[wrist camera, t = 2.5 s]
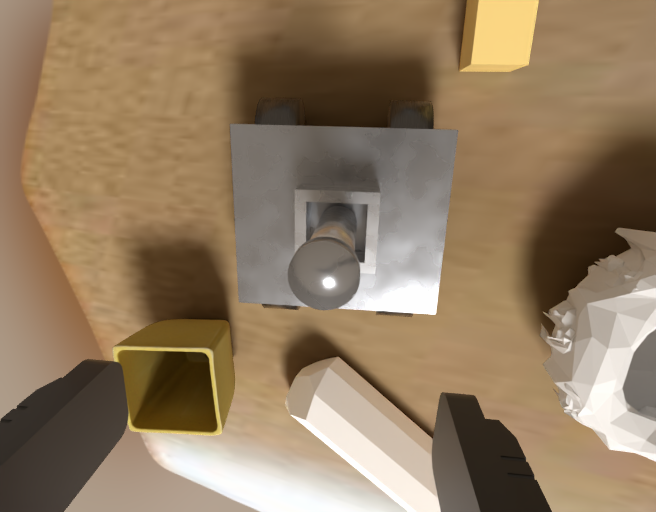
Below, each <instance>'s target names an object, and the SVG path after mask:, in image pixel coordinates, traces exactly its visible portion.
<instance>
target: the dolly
mask: <svg viewBox="0 0 656 512" xmlns="http://www.w3.org/2000/svg"><path fill="white" fill-rule="evenodd" d="M230 136H231V155H232V175H233V195H234V215H235V234H236V254H237V274H238V294H239V302H243V303H259V304H262V305H263V307H264V308H277V309H293V310H299V308H300V306H307V305H305V304H304V303H302V302H301V301H300V300H299V299H298V298H297V297H296V296H295V295H294V293H293V292H292V290H291V288H290V285H289V282H288V268H289V264H290V262H291V260H292V258H293V256H294V254H295V252H296V251H297V250H298V248H299V247H300V246H301V245H302V244H304V243H305V242H307V241H308V240H310V239H311V237H312V235H313V233H314V231H315V229H316V227H317V225H318V222H319V220H320V218H321V216H322V214H323V213H324V212H325V211H326V210H327V209H329V208H331V207H333V206H343V207H346V208H348V209H349V210H350V211H352V213H353V214H354V215H355V217H356V221H357V229H356V240H355V251H354V252H355V253H356V255H357V257H358V260H359V263H360V284H359V287H358V290H357V292H356V294H355V295H354V297H353V298H352V299H351V300H350V301H349V302H348V303H346V304H345V305H343V306H341V307H339V308H340V309H356V310H373V311H376V315H389V316H405V317H412V315H413V313H421V314H436V308H437V300H438V291H439V283H440V275H441V267H442V259H443V251H444V242H445V234H446V226H447V218H448V210H449V201H450V193H451V185H452V177H453V169H454V161H455V152H456V144H457V136H458V130H451V129H433V105H432V102H431V101H392V100H391V101H390V105H389V112H388V121H387V128H379V127H341V126H306V120H305V110H304V104H303V101H302V99H299V98H261V99H260V101H259V103H258V106H257V110H256V116H255V124H230ZM308 307H309V306H308Z"/></svg>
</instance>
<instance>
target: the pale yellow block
mask: <svg viewBox="0 0 656 512" xmlns="http://www.w3.org/2000/svg"><path fill="white" fill-rule="evenodd" d="M538 2H539V0H467V4H466V13H465V22H464V31H463V40H462V48H461V57H460V66H459V71H486V72H510V71H513V70H516V69H518V68H521V67H524V66H527V65H528V64H529V58H530V52H531V46H532V39H533V33H534V27H535V21H536V15H537V9H538Z"/></svg>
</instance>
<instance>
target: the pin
mask: <svg viewBox="0 0 656 512" xmlns="http://www.w3.org/2000/svg"><path fill="white" fill-rule="evenodd" d="M356 229H357V221H356V217H355V215H354V214H353V213H352V211H350V210H349V209H348V208H346V207H343V206H333V207H331V208H329V209H327V210H326V211H325V212H324V213H323V214H322V216H321V218H320V220H319V222H318V225H317V227H316V229H315V231H314V233H313V235H312V237H311V239H310V240H308V241H307V242H305V243H304V244H302V245H301V246H300V247H299V248H298V250H297V251H296V252H295V254H294V256H293V258H292V260H291V262H290V264H289V268H288V282H289V285H290V288H291V290H292V292H293V293H294V295H295V296H296V297H297V298H298V299H299V300H300V301H301V302H302V303H304V304H305V305H307V306H309V307H312V308H314V309H319V310H332V309H336V308H339V307H341V306H343V305H345V304H346V303H348V302H349V301H350V300H351V299H352V298H353V297H354V295H355V294H356V292H357V290H358V287H359V284H360V263H359V260H358V257H357V255H356V253H355V252H354V251H355V240H356Z"/></svg>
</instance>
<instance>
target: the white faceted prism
mask: <svg viewBox="0 0 656 512" xmlns="http://www.w3.org/2000/svg"><path fill="white" fill-rule="evenodd" d="M332 370H333V371H332ZM324 374H325V375H324ZM339 376H340V377H339ZM346 382H347V383H346ZM354 389H355V390H354ZM314 393H315V394H314ZM361 395H362V396H361ZM313 396H314V397H313ZM285 406H286V408H287V410H288V411H289V413H290V415H291V416H293V417H294V418H295V419H296V420H297V421H299V422H300V423H301V424H302V425H304V426H305V427H306V428H307V429H308V430H310V431H311V432H312V433H313V434H315V435H316V436H317V437H318V438H319V439H321V440H322V441H323V442H324V443H325V444H327V445H328V446H329V447H330V448H332V449H333V450H334V451H335V452H336V453H338V454H339V455H340V456H341V457H343V458H344V459H345V460H346V461H347V462H349V463H350V464H351V465H352V466H353V467H355V468H356V469H357V470H358V471H360V472H361V473H362V474H363V475H364V476H366V477H367V478H368V479H369V480H371V481H372V482H373V483H374V484H375V485H377V486H378V487H379V488H380V489H381V490H383V491H384V492H385V493H386V494H388V495H389V496H390V497H391V498H392V499H394V500H395V501H396V502H397V503H399V504H400V505H401V506H402V507H403V508H405V509H406V510H407V511H408V512H441V510H440V505H439V500H438V495H437V490H436V485H435V480H434V475H433V469H432V442H433V439H432V438H431V437H430V436H429V435H428V434H426V433H425V432H424V431H423V430H422V429H421V428H420V427H418V426H417V425H416V424H415V423H414V422H413V421H412V420H410V419H409V418H408V417H407V416H406V415H405V414H403V413H402V412H401V411H400V410H399V409H398V408H397V407H395V406H394V405H393V404H392V403H391V402H390V401H389V400H387V399H386V398H385V397H384V396H383V395H382V394H381V393H379V392H378V391H377V390H376V389H375V388H374V387H373V386H371V385H370V384H369V383H368V382H367V381H366V380H365V379H363V378H362V377H361V376H360V375H359V374H358V373H357V372H355V371H354V370H353V369H352V368H351V367H350V366H349V365H347V364H346V363H345V362H344V361H343V360H342V359H341V358H339V357H334V358H329V359H325V360H321V361H318V362H315V363H313V364H311V365H309V366H307V367H304V368H302V369H301V371H300V372H299V373H298V374H297V376H296V377H295V379H294V381H293V383H292V385H291V387H290V390H289V392H288V394H287V396H286V401H285ZM376 408H377V409H376ZM383 414H384V415H383ZM398 427H399V428H398ZM420 446H421V447H420Z"/></svg>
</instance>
